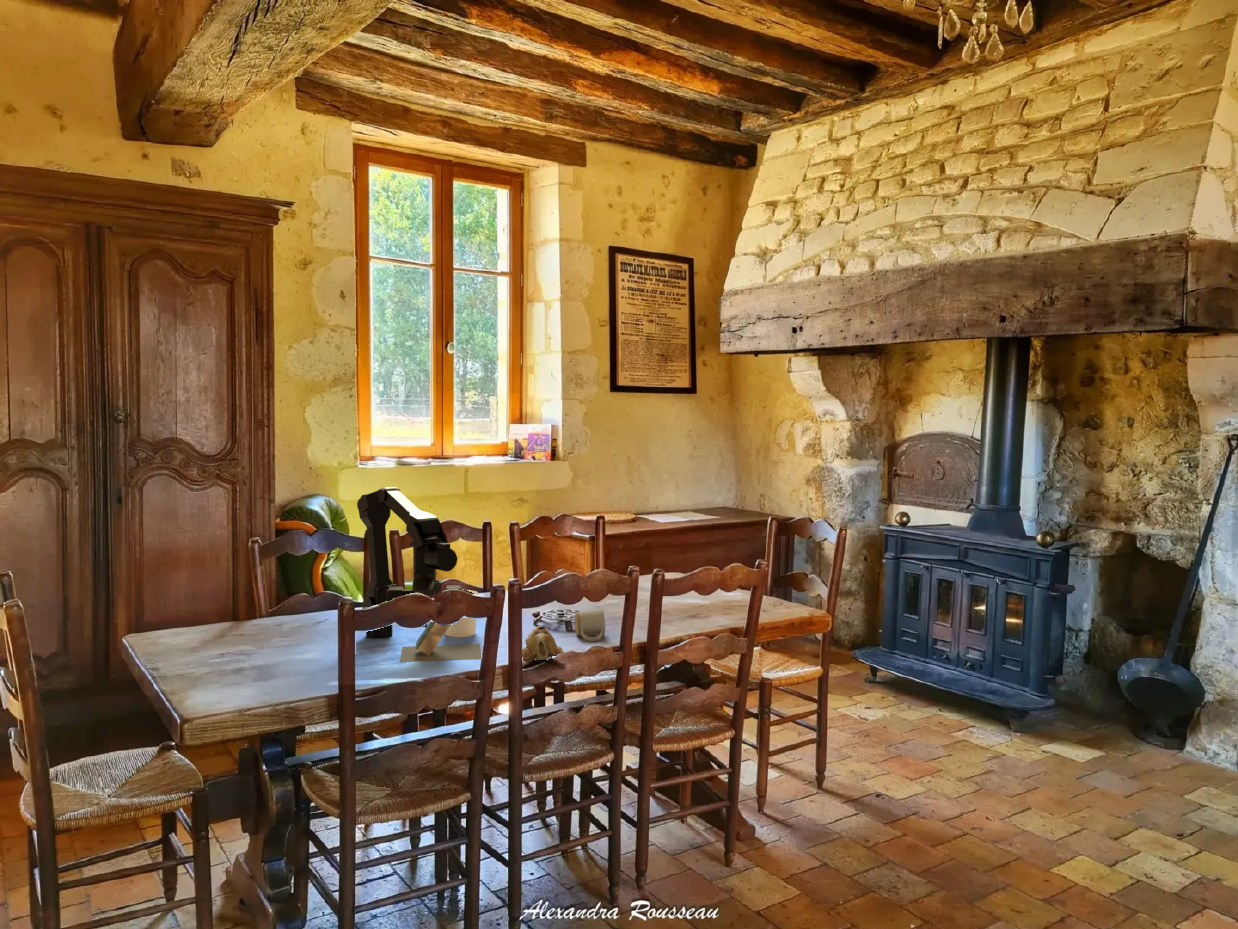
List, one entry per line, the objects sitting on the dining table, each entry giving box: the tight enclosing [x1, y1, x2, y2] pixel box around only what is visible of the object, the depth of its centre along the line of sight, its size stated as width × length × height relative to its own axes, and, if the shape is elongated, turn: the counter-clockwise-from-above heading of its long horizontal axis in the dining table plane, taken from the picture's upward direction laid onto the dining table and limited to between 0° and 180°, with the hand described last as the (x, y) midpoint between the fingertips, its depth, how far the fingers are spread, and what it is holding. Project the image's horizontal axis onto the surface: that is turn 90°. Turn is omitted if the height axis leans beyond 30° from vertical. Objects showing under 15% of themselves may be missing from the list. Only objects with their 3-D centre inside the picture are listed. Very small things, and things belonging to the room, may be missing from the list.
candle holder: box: [444, 589, 479, 638], centre depth 248 cm, size 10×10×12 cm
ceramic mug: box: [574, 608, 606, 642], centre depth 249 cm, size 10×8×7 cm
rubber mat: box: [399, 643, 482, 663], centre depth 229 cm, size 20×14×1 cm
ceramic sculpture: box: [521, 624, 565, 663], centre depth 227 cm, size 11×9×15 cm
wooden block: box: [415, 621, 451, 656], centre depth 228 cm, size 4×6×10 cm
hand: (424, 627), depth 227 cm, fingers closed
